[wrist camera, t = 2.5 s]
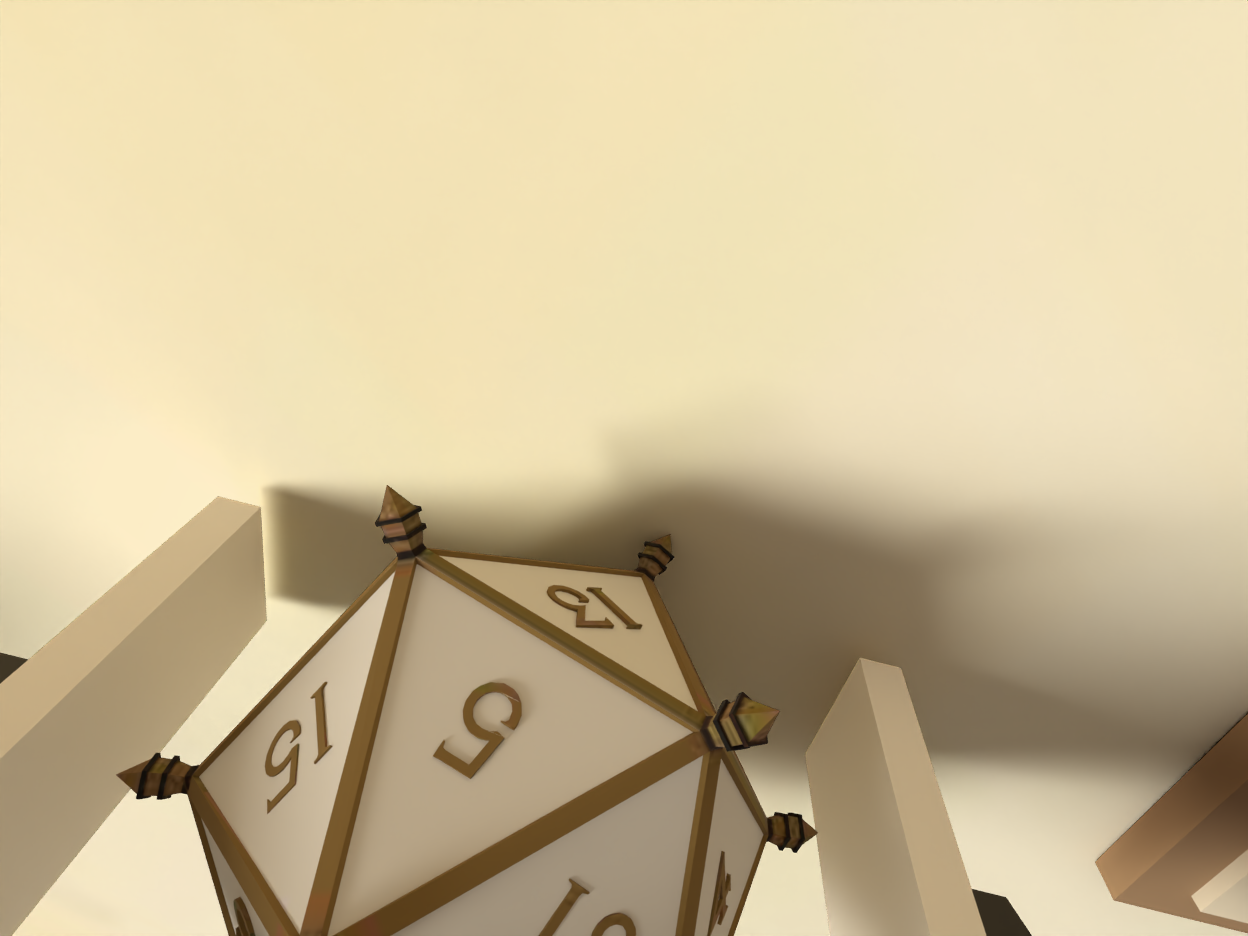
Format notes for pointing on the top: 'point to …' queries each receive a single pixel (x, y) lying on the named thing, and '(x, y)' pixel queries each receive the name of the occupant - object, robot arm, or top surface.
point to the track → (1191, 843)
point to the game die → (485, 764)
